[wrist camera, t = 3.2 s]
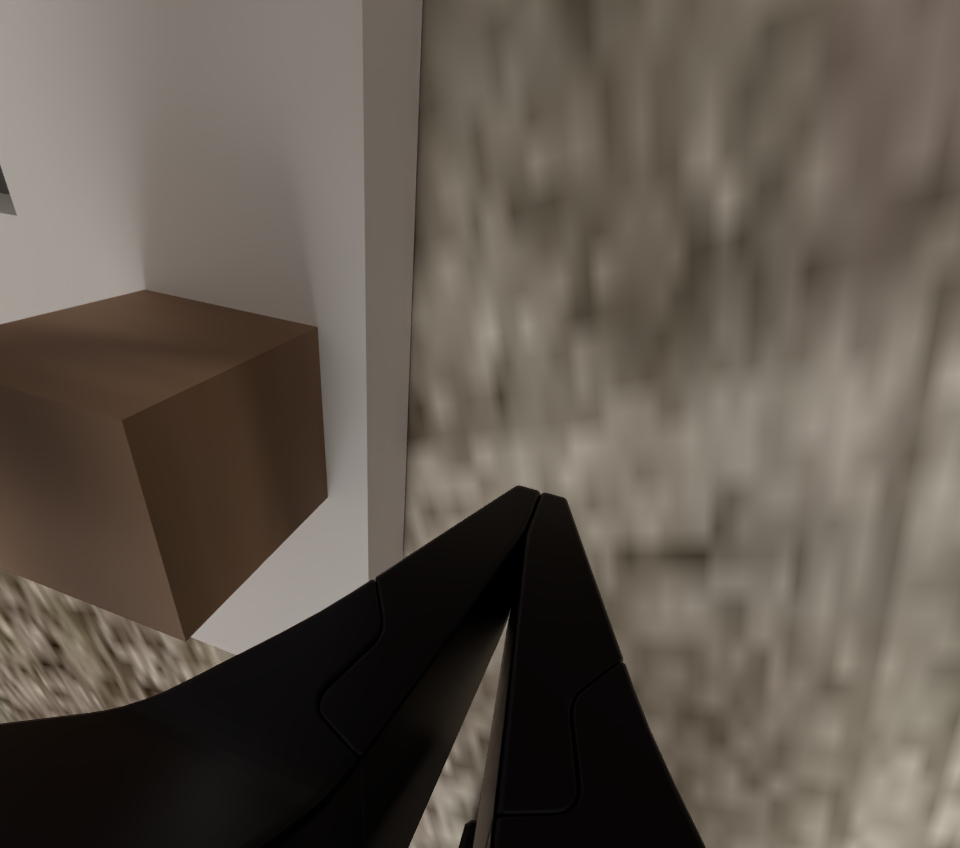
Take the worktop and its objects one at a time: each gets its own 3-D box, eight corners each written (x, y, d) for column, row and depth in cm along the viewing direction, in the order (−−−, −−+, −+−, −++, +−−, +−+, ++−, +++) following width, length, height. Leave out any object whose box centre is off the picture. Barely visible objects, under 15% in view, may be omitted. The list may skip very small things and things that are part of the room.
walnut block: (317, 326, 9) (120, 420, 6) (328, 497, 11) (185, 641, 8) (144, 289, 10) (-115, 351, 7) (182, 453, 12) (-3, 566, 9)
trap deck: (430, -207, 7) (358, -326, 5) (399, 651, 16) (370, 707, 15) (-382, -172, 11) (-566, -232, 10) (-40, 492, 21) (-102, 522, 19)
